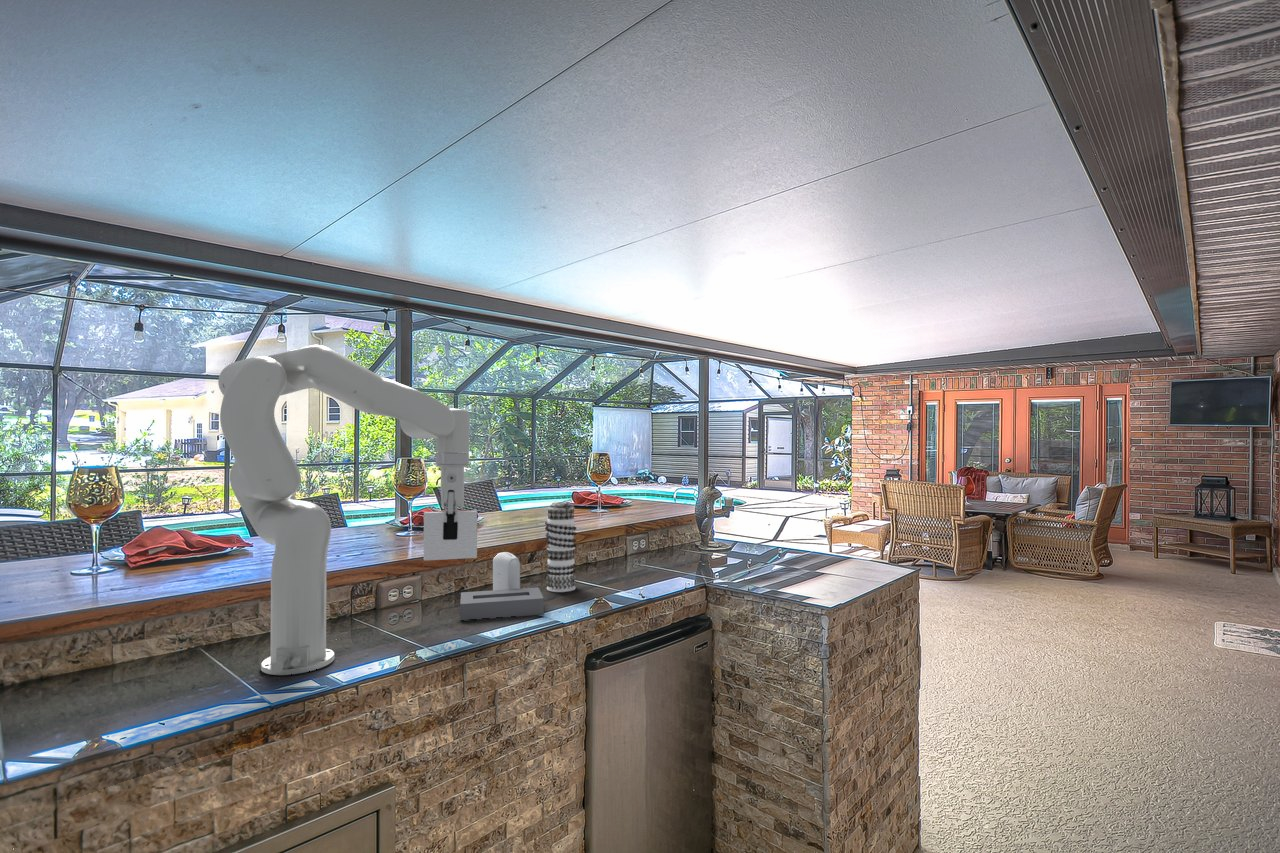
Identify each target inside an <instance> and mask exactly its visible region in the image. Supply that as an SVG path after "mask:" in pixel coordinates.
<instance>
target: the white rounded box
mask: <svg viewBox="0 0 1280 853" xmlns="http://www.w3.org/2000/svg"><path fill="white" fill-rule="evenodd" d="M496 554H497V555H496ZM496 554H495V555H496V556H495V555H494V556H495V557H493V559H492V590H507V589H521V563H520V559H519V558H518V557H517V556H516V555H515V554H513V553H511V552H508V551H503V552H498V553H496Z"/></svg>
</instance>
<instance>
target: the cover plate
mask: <svg viewBox="0 0 1280 853" xmlns="http://www.w3.org/2000/svg"><path fill="white" fill-rule="evenodd" d="M444 520H445V511H425V512H423V561H425V562H426V561H440V560H441V561H442V560H458V559H459V560H461V559H477V558H478V510H457V522H458V531H457V539H456V540H444V539H443V522H444Z"/></svg>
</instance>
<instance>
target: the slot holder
mask: <svg viewBox="0 0 1280 853" xmlns="http://www.w3.org/2000/svg"><path fill="white" fill-rule="evenodd" d="M544 601H545V597H544V596H543V594H542V592H541V590H540V588H539V587H538V586H537V587H525V588H520V589H507V590H493V589H492V590H481V591H480V590H476V591H463V592H460V604H459V608H460V611H459V612H460V614H459V616H460V618H459V619H460V620H464V621H469V620H468V619H477V620H483V619H482V618H490V619H497V618H496V617H503V618H512V617H511V616H516V617H525V616H526V617H527V616H539V615H540V616H541V615H542V616H543V615H544V614H545V610H544V609H545V608H544V607H545V606H544V605H545V602H544Z"/></svg>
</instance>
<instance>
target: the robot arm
mask: <svg viewBox="0 0 1280 853" xmlns="http://www.w3.org/2000/svg"><path fill="white" fill-rule="evenodd" d="M217 383H218V388H219V391H220V392H221V394H222V395H223V398H222V402H221V405H220V412H219V420H220V421H219V422H220V427H221V430H222V433H223V436H224V439H225V442H226V443H227V445H228V448H229V449H230V452H231V455H232V456H233V458H234V459H235V461H234V462H233V464H232V465H231V468H230V471H229V484H230V487H231V490H232V492H233V494H234V496H235V497H236V499H237V501H238V504H240V507H241V509H242V510H243V513H244V514H245V516H246V518H247V520H248V522H249V523H250V525H251V526H252V528H253V529H254V532H255V533H256V535H258V537H259V538H260V539H261V540H262V541H264V542H265V543H267V544H269V545H272V546H275V548H274V553H273V558H272V562H271V563H272V564H271V571H270V651H269V652H270V656H268V657H267V658H264V660H263V661H262V662H261V663H260V670H261V672H262V673H264V674H267V675H271V676H272V675H273V676H289V675H290V676H292V675H298V674H304V673H309V671H310V672H313V671H316V669H317V670H320V669H321V668H325V667H327V666H328V665H330V664H331V663H333V662H334V661H335V657H336V656H335V653H336V652H335V651H334V650H332V649H329V648H327V563H328V551H329V547H330V546H329V545H330V540H331V535H332V534H331V533H332V524H331V519H330V517H329V515H328V514H327V512H326V510H325V509H324V508H323V507H321V506H320V505H318V504H316V503H313V502H311V501H306V500H299V499H298V498H297V497H296V495H295V494H296V493H297V491H298V490H299V488H300V486H301V483H302V482H301V481H302V475H301V471H300V469H299V466H298V465H297V463H296V461H295V460H294V457H293V456H292V454H291V452H290V450H289V447H288V446H287V445H286V443H285V442H286V441H285V440H284V439H283V437H282V434H281V431H280V430H279V427H278V424H277V422H276V417H275V408H276V404H277V402H278V400H279V398H280V397H281V396H285V395H289V394H293V393H296V392H300V391H303V390H307V389H315V390H317V391H319V392H321V393H323V394H325V395H328V396H329V397H331V398H334V399H336V400H338V401H340V402H341V403H344V404H346V405H347V406H349V407H352V408H353V409H355V410H357V411H360V412H363V413H367V414H371V415H376V416H383V417H387V418H388V417H389V418H393V419H396V420H399V426H400V428H401V430H402V432H403V433H404V434H405V435H406V436H408V437H410V438H412V439H418V440H419V439H421V440H423V439H436V440H435V441H436V442H435V444H436V445H435V446H436V448H435V452H436V454H435V467H436V468H440V503H441V504H440V505H441V508H442V510H444V512H445V520H444V522H443V539H444V540H456V539H457V531H458V522H457V511H458V508H460V510H462V509H464V505H465V504H464V503H465V502H464V501H465V468H469V466H470V432H471V428H470V426H471V425H470V424H471V414H470V412H469V411H468V410H466V409H463V408H449V407H448V406H447V405H446V404H444V403H443V402H441V401H440V400H438V399H436V398H435V397H432V396H431V395H429V394H426V393H424V392H422V391H420V390H418V389H415V388H413V387H410V386H408V385H405V384H402V383H399V382H397V381H394V380H391V379H390V378H387V377H384V376H381V375H379V374H378V373H376V372H373V371H371V370H370V369H368V368H366V367H365V366H362V365H361V364H359V363H357V362H355V361H354V360H352V359H350V358H349V357H347V356H345V355H343V354H341V353H339V352H337V350H334V349H332V348H331V347H327V346H325V345H320V344H312V345H308V346H303V347H298V348H294V349H291V350H287V351H283V352H279V353H276V354H275V353H274V354H270V355H265V356H253V357H249V358H245V359H242V360H237V361H233V362H231V363H229V364H228V365H226V366H225V367H224V368H223V369H222V370H221V372H220V374H219V376H218V382H217ZM291 674H292V675H291Z"/></svg>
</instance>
